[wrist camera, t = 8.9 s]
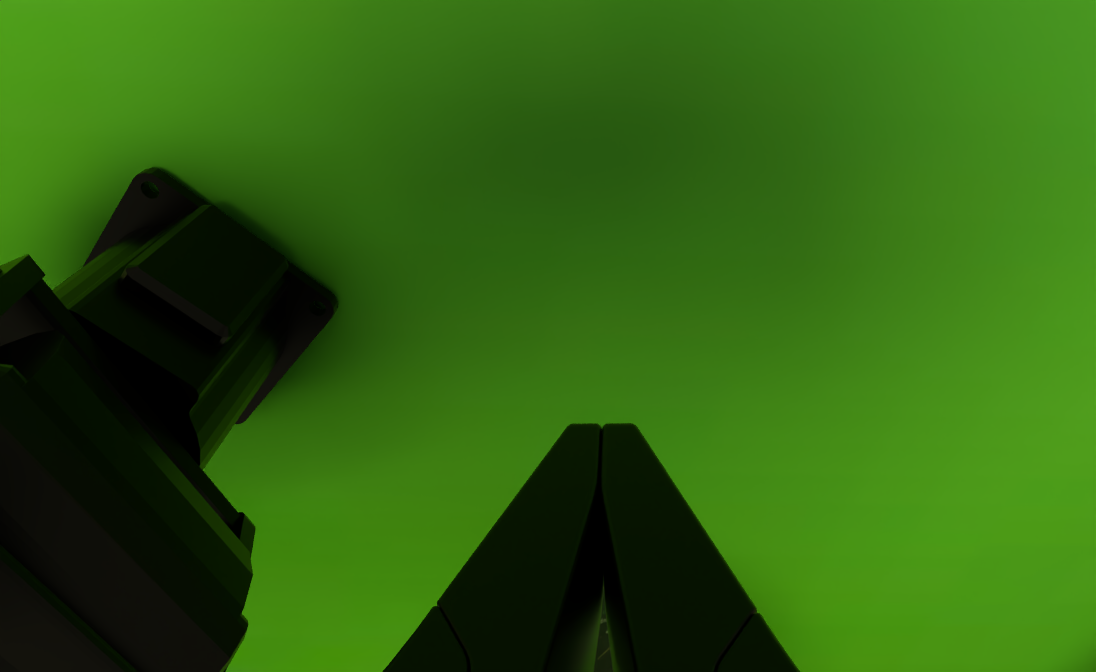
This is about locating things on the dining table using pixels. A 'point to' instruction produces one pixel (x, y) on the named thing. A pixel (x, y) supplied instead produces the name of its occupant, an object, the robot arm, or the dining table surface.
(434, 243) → the dining table surface
